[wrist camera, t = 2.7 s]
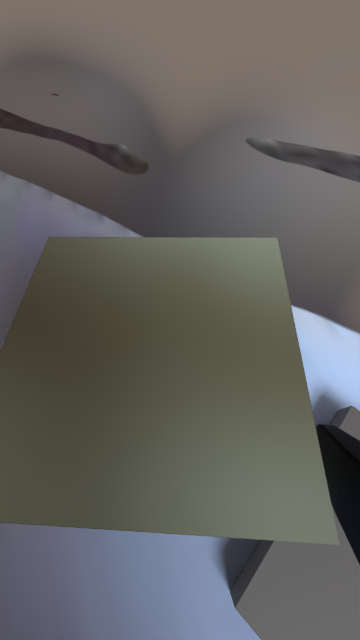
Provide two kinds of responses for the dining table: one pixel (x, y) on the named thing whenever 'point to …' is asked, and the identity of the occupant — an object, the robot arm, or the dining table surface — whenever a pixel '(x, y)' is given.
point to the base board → (303, 581)
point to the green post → (160, 394)
